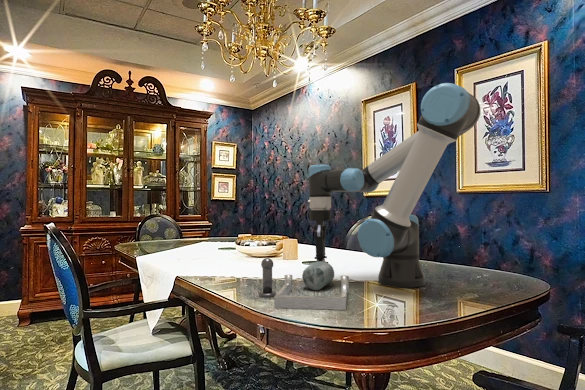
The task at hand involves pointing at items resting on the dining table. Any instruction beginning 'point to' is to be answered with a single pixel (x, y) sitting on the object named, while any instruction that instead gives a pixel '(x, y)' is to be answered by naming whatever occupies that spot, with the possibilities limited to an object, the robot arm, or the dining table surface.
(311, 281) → the grey rounded piece
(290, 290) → the keeper cradle
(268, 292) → the post
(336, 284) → the dining table surface
